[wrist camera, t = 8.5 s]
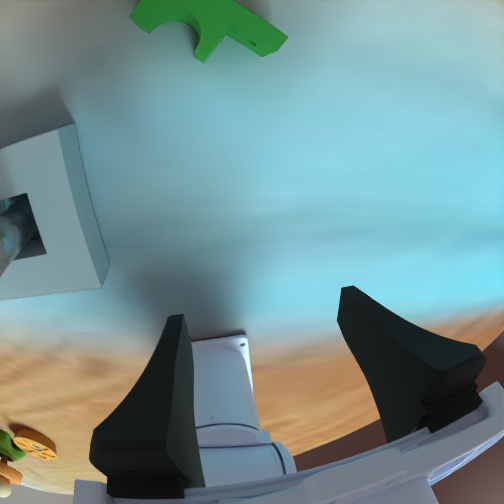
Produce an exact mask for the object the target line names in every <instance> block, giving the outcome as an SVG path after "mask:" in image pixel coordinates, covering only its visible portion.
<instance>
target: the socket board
mask: <svg viewBox="0 0 504 504" xmlns="http://www.w3.org/2000/svg"><path fill="white" fill-rule="evenodd" d="M23 193H27V194H28V198H29V201H30V205H31V208H32V211H33V214H34V217H35V221H36V224H37V227H38V230H39V233H40V235H41V238H40V239H35V240H31V241H28V242H27V243H26V245H25V246H24V247H23V248H22V250H21V251H20V252H19V253H18V255H17V256H16V257H15V258H14V260H13V261H12V262H11V264H10V265H9V266H8V268H7V269H6V270H5V272H4V273H3V274H2V276H1V277H0V301H1V300H9V299H17V298H25V297H33V296H42V295H49V294H57V293H65V292H73V291H81V290H88V289H96V288H102V285H103V283H104V280H105V277H106V274H107V271H108V269H109V266H110V264H109V261H108V258H107V254H106V251H105V248H104V245H103V241H102V238H101V235H100V231H99V228H98V224H97V221H96V217H95V213H94V209H93V206H92V202H91V198H90V194H89V190H88V186H87V181H86V177H85V172H84V168H83V163H82V158H81V153H80V148H79V143H78V138H77V132H76V126H75V123H73V124H69V125H66V126H63V127H59V128H56V129H53V130H50V131H47V132H44V133H41V134H38V135H35V136H32V137H29V138H26V139H23V140H21V141H18V142H15V143H12V144H10V145H7V146H5V147H2V148H0V212H1V211H2V210H3V209H4V208H5V204H4V201H3V200H4V199H7V198H10V197H13V196H17V195H20V194H23Z"/></svg>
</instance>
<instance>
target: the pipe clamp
mask: <svg viewBox="0 0 504 504" xmlns="http://www.w3.org/2000/svg"><path fill="white" fill-rule="evenodd" d="M129 17H130V18H131V19H132V20H133V21H134V22H135V23H136V24H137V25H138V26H139V27H140V28H141V29H142V30H144V31H146V32H148V33H150V32H151V31H152V30H153V29H154V28H155V27H157V26H158V25H160V24H162V23H164V22H168V21H182V22H185V23H187V24H189V25H191V26H192V27H193V28H194V29H195V30H196V32H197V34H198V36H199V40H200V41H199V44H198V46H197V48H196V49H195V58H196V59H198V60H199V61H201V62H203V63H204V62H205V61H206V59H207V58H208V57H209V55H210V54H211V53H212V51H213V50H214V49H215V48H216V46H217V45H218V44H219V42H220V41H221V40H222V39H223V37H224V36H225V35H226V34H227V35H228V36H230V37H232V38H233V39H235V40H236V41H238V42H240V43H241V44H243V45H244V46H246V47H247V48H249V49H250V50H252V51H253V52H255V53H256V54H258V55H259V56H261V57H263V56H265V55H268V54H270V53H273V52H275V51H278V49H279V48H280V47H281V46H282V44H283V43H284V42H285V41H286V40H287V38H288V36H287V35H285V34H284V33H282V32H281V31H280V30H278V29H277V28H275V27H274V26H272V25H271V24H270V23H268V22H267V21H265V20H264V19H262V18H261V17H259V16H258V15H256V14H254V13H253V12H251V11H250V10H248V9H247V8H245V7H243V6H242V5H240V4H238V3H237V2H235V1H233V0H141V1H140V2H139V3H138V4H137V6H136V7H135V8H134V10H133V11H132V12H131V14H130V15H129Z"/></svg>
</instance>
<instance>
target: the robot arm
mask: <svg viewBox="0 0 504 504" xmlns="http://www.w3.org/2000/svg"><path fill="white" fill-rule="evenodd" d="M337 322H338V324H339V327H340V330H341V332H342V335H343V337H344V339H345V341H346V343H347V345H348V346H349V348H350V350H351V352H352V354H353V355H354V357H355V359H356V361H357V362H358V364H359V366H360V368H361V370H362V371H363V373H364V375H365V377H366V379H367V382H368V384H369V387H370V389H371V392H372V394H373V397H374V400H375V403H376V405H377V408H378V411H379V414H380V418H381V421H382V424H383V428H384V431H385V435H386V439H387V443H388V444H386V445H383V446H380V447H378V448H375V449H373V450H370V451H367V452H364V453H362V454H359V455H356V456H353V457H350V458H346V459H343V460H341V461H337V462H334V463H330V464H327V465H323V466H320V467H316V468H312V469H309V470H304V471H300V472H297V471H296V466H295V463H294V460H293V457H292V455H291V453H290V452H289V451H288V449H287V448H285V447H284V445H283V444H282V443H280V442H278V441H272V442H271V438H270V434H269V431H262V430H261V426H260V422H259V418H258V413H257V409H256V405H255V401H254V396H253V384H252V375H251V366H250V357H249V347H248V339H247V336H246V335H236V336H230V337H224V338H217V339H210V340H203V341H195V342H191V341H190V337H189V334H188V330H187V326H186V323H185V319H184V315H183V314H179V315H172V316H169V317H168V319H167V322H166V325H165V327H164V330H163V333H162V335H161V337H160V340H159V342H158V344H157V346H156V349H155V351H154V353H153V355H152V357H151V359H150V360H149V362H148V364H147V366H146V368H145V370H144V371H143V373H142V375H141V376H140V378H139V379H138V381H137V382H136V384H135V385H134V387H133V388H132V389H131V391H130V392H129V393H128V395H127V396H126V397H125V398H124V400H123V401H122V402H121V403H120V404H119V405H118V406H117V408H116V409H115V410H114V411H113V412H112V413H111V414H110V415H109V416H108V417H107V418H106V419H105V420H104V421H103V422H102V423H100V424H99V425H98V426H97V427H96V428H95V429H94V431H93V435H92V439H91V444H90V454H89V460H90V462H91V464H92V465H93V466H94V467H95V468H97V469H98V470H99V471H100V472H102V473H103V474H104V475H105V476H107V484H106V483H103V482H98V481H87V480H78V479H76V480H75V484H74V500H73V504H439V503H438V502H437V499H436V497H435V495H434V493H433V491H432V489H431V487H430V486H431V485H432V484H434V483H436V482H437V481H439V480H441V479H442V478H444V477H446V476H447V475H449V474H451V473H452V472H454V471H455V470H457V469H458V468H460V467H462V466H463V465H465V464H466V463H467V462H469V461H470V460H472V459H473V458H475V457H476V456H478V455H479V454H480V453H482V452H483V451H485V450H486V449H487V448H489V447H490V446H492V445H493V444H494V443H496V442H497V441H498V440H499V439H500V438H501V437H502V436H503V435H504V389H503V388H502V387H501V385H500V384H499V383H498V382H495V383H494V384H492V385H490V386H489V387H487V388H485V389H484V390H483V391H481V392H480V393H479V394H478V393H477V391H476V389H477V388H478V386H477V384H476V383H475V380H476V379H477V377H478V376H479V374H480V372H481V371H482V369H483V367H484V366H485V362H486V357H485V356H484V354H483V353H482V352H481V351H480V349H479V348H478V347H477V346H476V345H474V344H469V343H464V342H460V341H456V340H452V339H449V338H446V337H443V336H440V335H437V334H435V333H432V332H429V331H427V330H425V329H422V328H420V327H418V326H416V325H414V324H412V323H410V322H408V321H407V320H405V319H403V318H401V317H400V316H398V315H396V314H395V313H393V312H391V311H390V310H388V309H387V308H385V307H384V306H382V305H381V304H379V303H378V302H377V301H375V300H374V299H372V298H371V297H369V296H368V295H367V294H365V293H364V292H362V291H361V290H359V289H358V288H356V287H355V286H348V287H343V288H341V295H340V303H339V310H338V317H337ZM241 343H243V344H241Z"/></svg>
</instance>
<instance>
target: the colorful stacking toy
mask: <svg viewBox="0 0 504 504" xmlns="http://www.w3.org/2000/svg"><path fill="white" fill-rule="evenodd" d="M13 441H14V443H15V444H16V445H17V446H18V447H14V446H12V444H11V443H12V442H11V441H10V436H9V434H8V433H7V432H5V431H2V430H0V457H1V461H0V497H7V496H9V495H10V493H11V484H10V483H12V484H16V485H18V484H19V483H20V482H21V480H22V477H23V476H22V474H21V473H20V472H18V471H17V470H15V469H14V468H12V467H10V466H8V465H7V461H11V462H13V461H16V460H20V459H22V458H23V457H24V456H25V454H26V452H27V453H29V454H31V455H33V456H36V457H39V458H42V459H47V460H54V459H56V458H57V453H56V446H55V444H54V442H53V441H51V440H50V439H49V438H47V437H46V436H44V435H42V434H40V433H37V432H35V431H32V430H28V429H20V430H19V431H18V432H17V434H16V435H15V437H14V438H13Z"/></svg>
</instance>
